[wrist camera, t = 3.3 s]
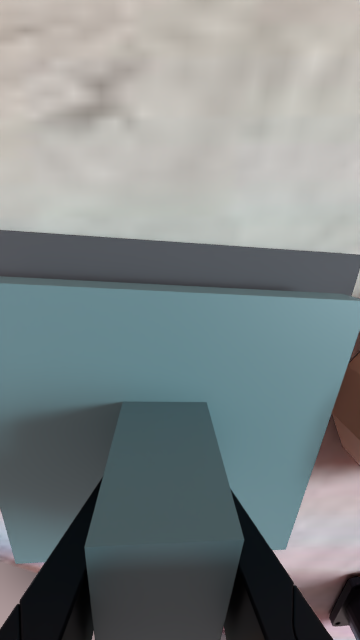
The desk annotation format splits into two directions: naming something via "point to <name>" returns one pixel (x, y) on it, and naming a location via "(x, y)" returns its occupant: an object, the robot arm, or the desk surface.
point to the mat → (174, 263)
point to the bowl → (349, 410)
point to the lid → (162, 433)
